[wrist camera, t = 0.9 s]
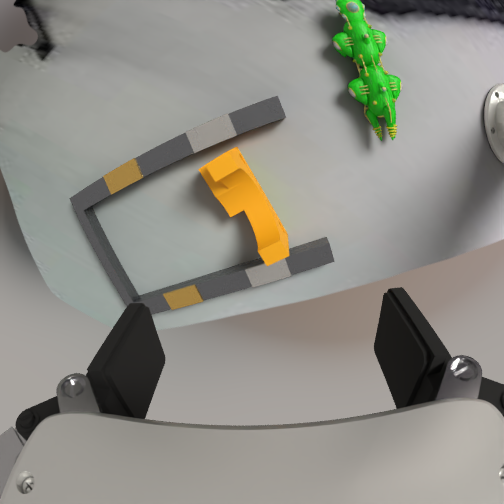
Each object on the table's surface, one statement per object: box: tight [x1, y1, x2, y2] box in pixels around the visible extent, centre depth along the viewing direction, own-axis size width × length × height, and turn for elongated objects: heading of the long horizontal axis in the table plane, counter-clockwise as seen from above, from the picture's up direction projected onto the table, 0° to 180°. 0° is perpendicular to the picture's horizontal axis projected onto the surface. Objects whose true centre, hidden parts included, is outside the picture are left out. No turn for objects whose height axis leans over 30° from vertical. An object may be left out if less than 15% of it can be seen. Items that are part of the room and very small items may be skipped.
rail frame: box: [70, 96, 334, 314], centre depth 34 cm, size 30×20×2 cm
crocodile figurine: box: [332, 0, 402, 141], centre depth 24 cm, size 7×18×4 cm, turn 16°
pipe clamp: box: [198, 147, 289, 266], centre depth 31 cm, size 12×4×6 cm, turn 30°
